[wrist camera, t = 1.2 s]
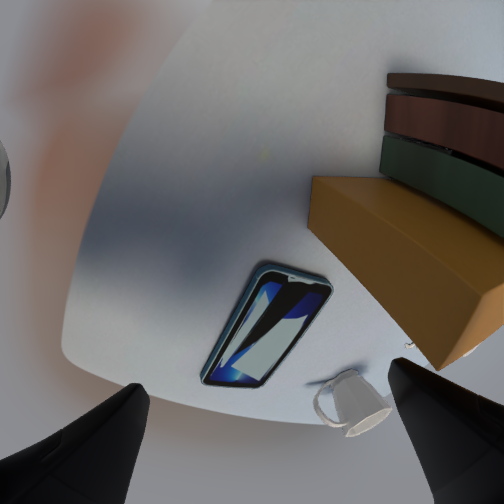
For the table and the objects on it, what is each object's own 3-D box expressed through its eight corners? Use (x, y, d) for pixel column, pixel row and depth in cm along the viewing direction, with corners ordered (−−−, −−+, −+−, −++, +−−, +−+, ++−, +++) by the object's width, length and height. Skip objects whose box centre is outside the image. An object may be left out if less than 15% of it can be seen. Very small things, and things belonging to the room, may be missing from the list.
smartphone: (197, 385, 25) (263, 265, 19) (196, 377, 26) (259, 258, 20) (261, 389, 28) (338, 286, 22) (259, 382, 29) (333, 279, 23)
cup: (349, 389, 36) (372, 430, 30) (294, 399, 33) (315, 448, 26) (373, 359, 34) (402, 402, 27) (316, 367, 30) (344, 421, 23)
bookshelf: (366, 241, 22) (473, 341, 11) (387, 73, 15) (545, 93, 4) (439, 233, 25) (525, 300, 14) (461, 104, 18) (570, 140, 7)
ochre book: (307, 228, 20) (436, 372, 8) (312, 175, 18) (483, 295, 6) (402, 221, 23) (518, 312, 11) (410, 180, 21) (543, 258, 9)
